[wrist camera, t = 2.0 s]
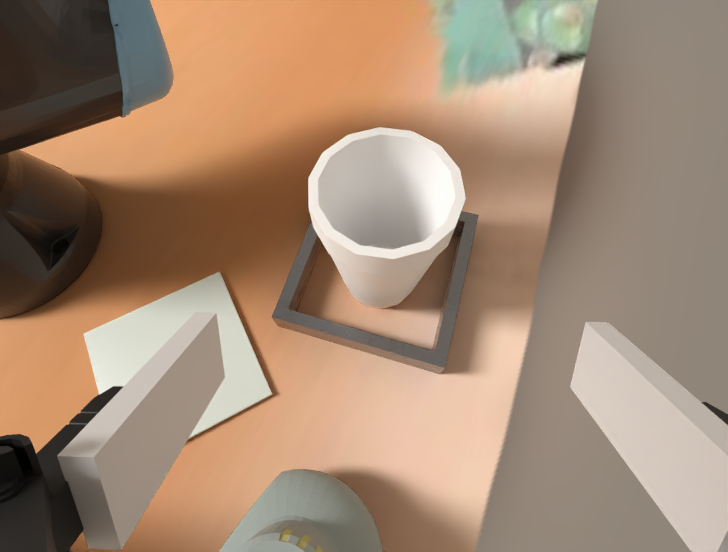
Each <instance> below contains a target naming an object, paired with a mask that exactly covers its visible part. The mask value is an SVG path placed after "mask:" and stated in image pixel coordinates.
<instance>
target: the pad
mask: <svg viewBox="0 0 728 552" xmlns="http://www.w3.org/2000/svg"><path fill="white" fill-rule="evenodd" d="M195 312H211V313H217V320H218V328H219V335H220V343H221V350H222V358H223V365H224V373H225V378H224V380H223V382H222V383H221V385H220V387H219V388H218V390H217V392H216V393H215V395H214V397H213V398H212V400H211V402H210V403H209V405H208V407H207V408H206V410H205V412H204V413H203V415H202V417H201V418H200V420H199V422H198V423H197V425H196V427H195V428H194V430H193V432H192V433H191V435H190V437H189V438H188V440H189V439H190V438H192V437H194V436H196V435H198V434H200V433H202V432H204V431H205V430H207V429H209V428H211V427H213V426H215V425H217V424H219V423H220V422H222V421H224V420H226V419H228V418H230V417H232V416H234V415H236V414H237V413H239V412H241V411H243V410H245V409H247V408H249V407H251V406H252V405H254V404H256V403H258V402H260V401H262V400H264V399H266V398H268V397H269V396H271V395H273V394H272V391H271V389H270V387H269V384H268V382H267V380H266V377H265V375H264V373H263V370H262V368H261V366H260V363H259V361H258V359H257V356H256V354H255V352H254V349H253V347H252V345H251V342H250V340H249V338H248V335H247V333H246V331H245V328H244V326H243V324H242V321H241V319H240V317H239V314H238V312H237V310H236V307H235V305H234V303H233V300H232V298H231V296H230V293H229V291H228V289H227V286H226V284H225V282H224V279H223V277H222V275H221V273H220V272H217V273H215V274H213V275H210V276H208V277H206V278H204V279H202V280H199V281H197V282H195V283H193V284H191V285H189V286H186V287H184V288H182V289H180V290H178V291H175V292H173V293H171V294H169V295H167V296H165V297H162V298H160V299H158V300H156V301H154V302H151V303H149V304H147V305H145V306H143V307H141V308H138V309H136V310H134V311H132V312H130V313H127V314H125V315H123V316H121V317H119V318H117V319H114V320H112V321H110V322H108V323H106V324H103V325H101V326H99V327H97V328H95V329H92V330H90V331H88V332H86V333H84V338H85V341H86V345H87V349H88V353H89V357H90V361H91V365H92V369H93V372H94V376H95V380H96V384H97V388H98V392H99V395H100V394H101V393H103V392H105V391H106V390H108V389H110V388H111V387H113V386H125V385H126V384H127V383H128V382H129V381H130V380H131V378H132V377H133V376H134V375H135V374H136V373H137V372H138V371H139V370H140V369H141V368H142V367H143V366H144V365H145V364H146V363H147V362H148V361H149V360H150V359H151V358H152V357H153V356H154V355H155V354H156V353H157V351H158V350H159V349H160V348H161V347H162V346H163V345H164V344H165V343H166V342H167V341H168V340H169V339H170V338H171V337H172V336H173V335H174V334H175V333H176V332H177V331H178V330H179V329H180V328H181V327H182V326H183V324H184V323H185V322H186V321H187V320H188V319H189V318H190V317H191V316H192V315H193V314H194V313H195Z"/></svg>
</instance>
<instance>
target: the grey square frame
mask: <svg viewBox="0 0 728 552" xmlns="http://www.w3.org/2000/svg"><path fill="white" fill-rule="evenodd" d="M477 219H478V215H476V214H472V213H467V212H463V211H461V213H460V216H459V219H458V221H457V224H456V227H455V229H454V232H453V234H454V235H458V236H459V238H458V242H457V247H456V251H455V255H454V259H453V264H452V268H451V272H450V276H449V281H448V285H447V289H446V293H445V298H444V302H443V306H442V310H441V315H440V319H439V323H438V327H437V332H436V336H435V340H434V344H433V349H432V351H431V350H427V349H424V348H420V347H417V346H413V345H410V344H407V343H403V342H400V341H396V340H393V339H389V338H386V337H382V336H379V335H376V334H372V333H369V332H365V331H362V330H358V329H355V328H352V327H348V326H345V325H341V324H338V323H334V322H331V321H327V320H324V319H321V318H317V317H314V316H310V315H307V314H303V313H300V312H297V311H296V310H297V308H298V305H299V302H300V300H301V297H302V295H303V292H304V290H305V287H306V284H307V282H308V279H309V277H310V274H311V272H312V269H313V266H314V264H315V261H316V259H317V256H318V254H319V251H320V248H321V246H322V241H321V240H320V238H319V236H318V235H317V233H316V231H315V230H314V228H313V224H312V220H311V222H310V225H309V227H308V230H307V232H306V235H305V237H304V240H303V242H302V244H301V247H300V249H299V252H298V254H297V257H296V259H295V261H294V264H293V266H292V269H291V271H290V274H289V276H288V278H287V281H286V283H285V286H284V288H283V291H282V293H281V295H280V298H279V300H278V303H277V305H276V308H275V310H274V312H273V315H272V318H273V320H274V321H275V322H276V324H277V325H278V326H280V327H283V328H286V329H290V330H293V331H296V332H300V333H303V334H307V335H310V336H313V337H317V338H320V339H323V340H327V341H330V342H333V343H337V344H340V345H344V346H347V347H350V348H354V349H357V350H360V351H364V352H367V353H370V354H374V355H377V356H381V357H384V358H387V359H391V360H394V361H397V362H401V363H404V364H407V365H411V366H414V367H418V368H421V369H424V370H428V371H431V372H434V373H438V374H440V373H441V372H442V371H443V370H444V369H445V366H446V361H447V357H448V352H449V348H450V343H451V338H452V334H453V329H454V325H455V320H456V316H457V311H458V306H459V302H460V297H461V293H462V288H463V283H464V279H465V274H466V270H467V265H468V261H469V256H470V251H471V247H472V242H473V238H474V233H475V228H476V224H477Z"/></svg>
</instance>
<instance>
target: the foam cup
mask: <svg viewBox="0 0 728 552" xmlns="http://www.w3.org/2000/svg"><path fill="white" fill-rule="evenodd" d="M465 199H466V197H465V192H464V187H463V182H462V177H461V171H460V169H459V167H458V166H457V165H456V164H455V162H454V161H453V160H452V159H451V158H450V156H449V155H448V154H447V153H446V152H445V150H444V149H443V148H442V147H441V146H440V145H438V144H437V143H435V142H433V141H431V140H429V139H427V138H425V137H423V136H421V135H419V134H417V133H415V132H413V131H408V130H399V129H391V128H382V127H378V128H374V129H370V130H365V131H361V132H357V133H353V134H348V135H347V136H345V137H344V138H342V139H341V140H340V141H338V142H337V143H335V144H334V145H332V146H331V147H330V148H328V149H327V150H325V151H324V152H323V153H322V154H321V156H320V158H319V160H318V161H317V163H316V165H315V167H314V169H313V170H312V172H311V174H310V176H309V177H308V206H309V212H310V216H311V220H312V224H313V228H314V230H315V231H316V233H317V235H318V236H319V238H320V240H321V241H322V243H323V245H324V247H325V248H326V250H327V252H328V253H329V254H330V255H331V257H332V259H333V261H334V263H335V265H336V267H337V269H338V271H339V273H340V275H341V277H342V279H343V281H344V283H345V285H346V286H347V288H348V290H349V291H350V293H351V295H352V296H353V298H354V299H356V300H357V301H359V302H360V303H362V304H364V305H365V306H367V307H373V308H380V309H384V308H388V307H391V306H395V305H398V304H399V303H400V302H402V301H403V300H404V299H405V298H406V297H407V296H408V295H409V294H410V293H411V292H412V291H413V289H414V288H415V286H416V285H417V284H418V282H419V281H420V279H421V278H422V277H423V275H424V274H425V272H426V271H427V270H428V268H429V267H430V265H431V264H432V262H433V261H434V260H435V258H436V257H437V255H439V254H440V253H441V252H442V251H443V250H444V249H445V248H447V247H448V245H449V242H450V240H451V237H452V234H453V232H454V229H455V227H456V224H457V221H458V219H459V216H460V213H461V210H462V207H463V205H464V202H465Z"/></svg>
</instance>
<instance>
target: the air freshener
mask: <svg viewBox="0 0 728 552" xmlns="http://www.w3.org/2000/svg"><path fill="white" fill-rule="evenodd" d="M219 552H383V550H382V545H381V541H380V537H379V533H378V530H377V527H376V525H375V522H374V520H373V517H372V515H371V514H370V512H369V510H368V509H367V507H366V505H365V504H364V502H363V501H362V500H361V499H360V498H359V497H358V495H357V494H356V493H355V492H354V491H353V490H352V489H351V488H349V487H348V486H347V485H346V484H345V483H343V482H342V481H340V480H338V479H336V478H335V477H333V476H331V475H328V474H325V473H322V472H320V471H314V470H308V469H298V470H289V471H284V472H282V473H281V474H279V475H278V476H277V477H276V479H275V480H274V481H273V482H272V483H271V484H270V485H269V487H268V488H267V489H266V490H265V491H264V492H263V494H262V495H261V496H260V497H259V499H258V500H257V501H256V502H255V504H254V505H253V506H252V507H251V509H250V510H249V511H248V513H247V514H246V515H245V516H244V518H243V519H242V520H241V522H240V523H239V524H238V526H237V527H236V528H235V530H234V531H233V533H232V534H231V535H230V537H229V538H228V539H227V541H226V542H225V544H224V545H223V546H222V548H221V549H220V551H219Z"/></svg>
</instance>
